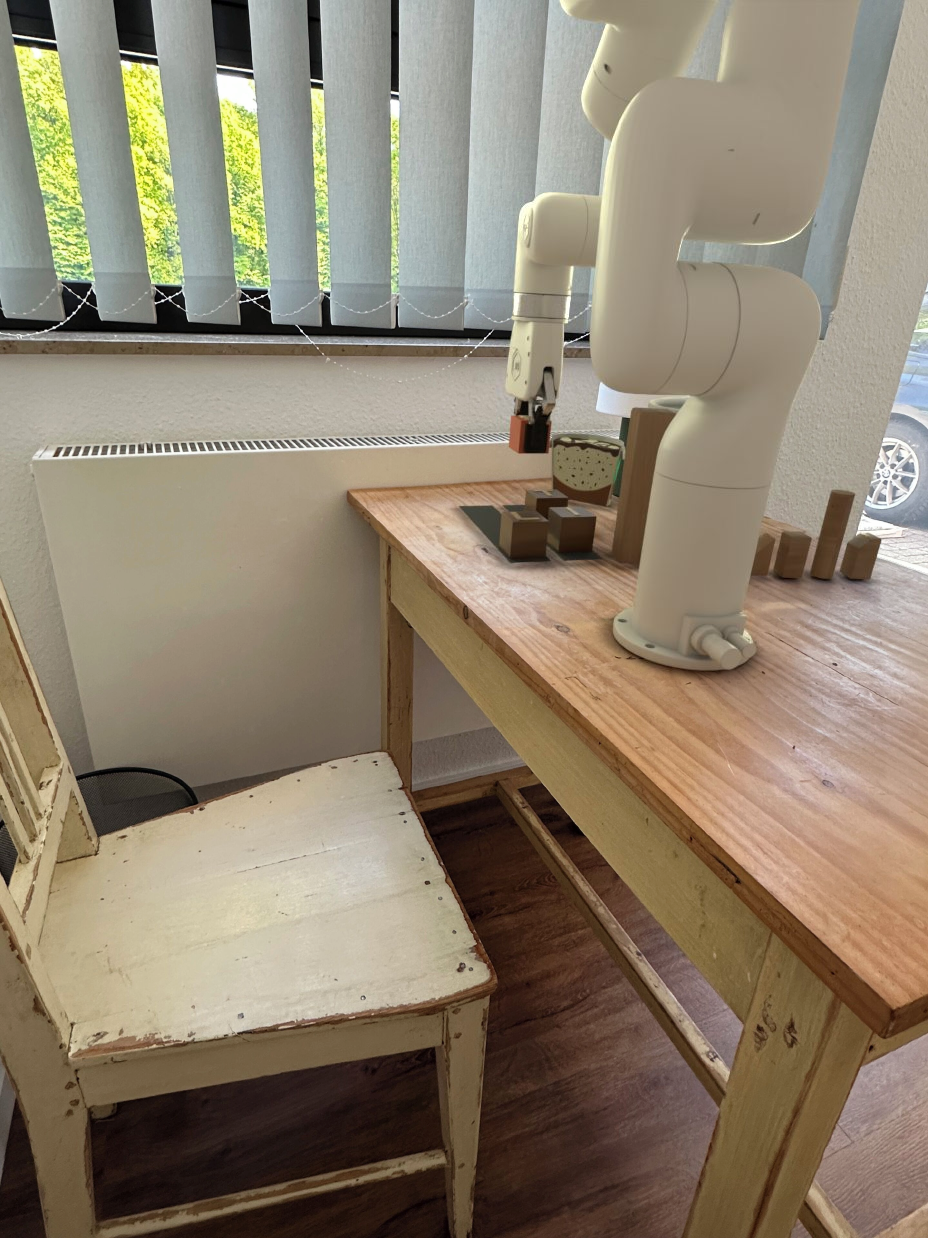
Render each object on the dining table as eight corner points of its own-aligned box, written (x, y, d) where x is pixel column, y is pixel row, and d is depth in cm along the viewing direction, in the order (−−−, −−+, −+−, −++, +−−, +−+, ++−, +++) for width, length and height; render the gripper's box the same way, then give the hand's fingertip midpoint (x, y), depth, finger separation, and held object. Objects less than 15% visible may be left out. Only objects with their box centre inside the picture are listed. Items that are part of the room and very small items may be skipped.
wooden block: (682, 558, 90) (708, 410, 82) (692, 571, 86) (721, 416, 78) (610, 555, 90) (630, 406, 82) (617, 567, 86) (639, 412, 78)
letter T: (565, 530, 97) (569, 496, 95) (533, 531, 96) (536, 497, 94) (553, 520, 101) (556, 488, 99) (522, 521, 99) (525, 488, 98)
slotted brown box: (592, 551, 89) (596, 515, 87) (558, 552, 88) (562, 516, 86) (578, 540, 93) (582, 505, 91) (545, 541, 92) (549, 506, 90)
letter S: (548, 453, 101) (552, 419, 99) (518, 453, 100) (521, 419, 98) (537, 447, 105) (540, 414, 103) (508, 447, 104) (511, 414, 102)
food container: (630, 504, 114) (639, 440, 110) (615, 512, 109) (625, 445, 105) (559, 491, 119) (565, 429, 115) (543, 497, 115) (549, 434, 111)
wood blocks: (857, 574, 88) (881, 490, 83) (870, 581, 85) (895, 496, 81) (659, 570, 85) (674, 484, 81) (666, 578, 83) (682, 489, 79)
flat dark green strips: (603, 563, 87) (604, 558, 86) (509, 567, 84) (510, 562, 83) (534, 508, 109) (534, 504, 108) (458, 509, 106) (458, 505, 105)
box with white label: (545, 557, 86) (549, 520, 84) (509, 559, 85) (512, 521, 83) (533, 545, 90) (536, 509, 88) (498, 546, 89) (501, 510, 87)
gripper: (495, 306, 101) (486, 437, 109) (535, 310, 86) (522, 462, 94) (545, 309, 103) (533, 438, 110) (592, 313, 88) (575, 462, 96)
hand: (528, 447), depth 102 cm, fingers closed on letter S, 4 cm apart
